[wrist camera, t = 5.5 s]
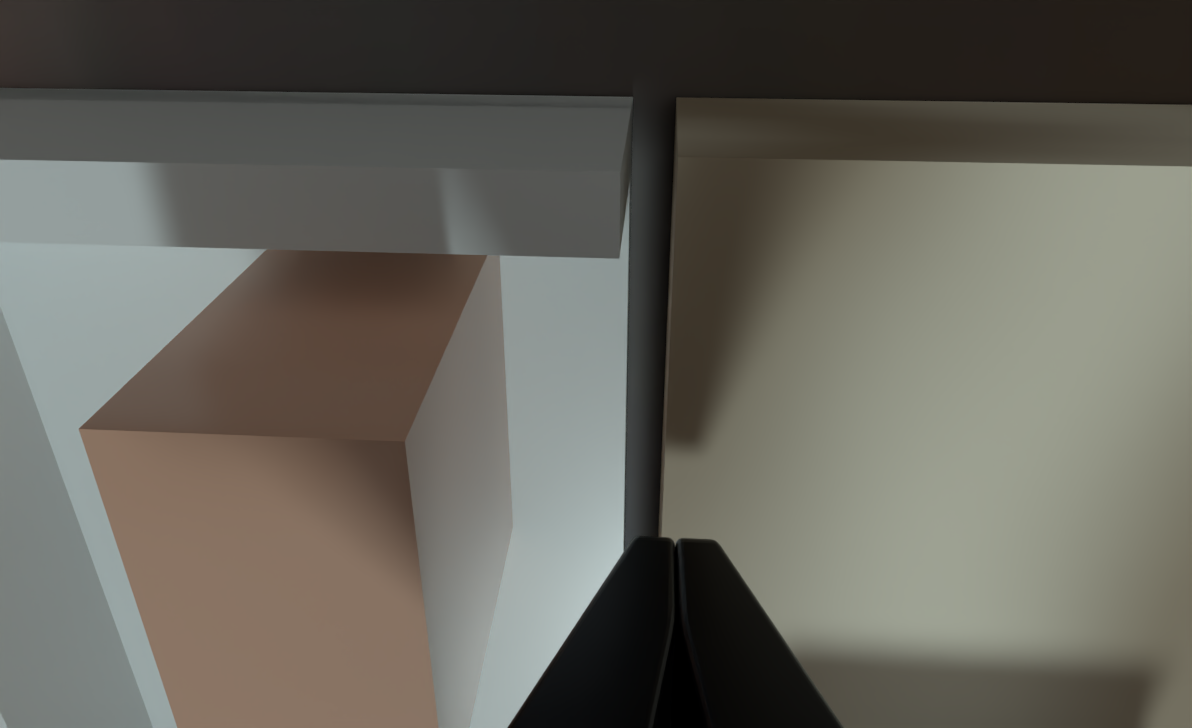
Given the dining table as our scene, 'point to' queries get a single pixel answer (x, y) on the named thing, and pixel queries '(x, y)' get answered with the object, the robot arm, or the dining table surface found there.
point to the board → (942, 399)
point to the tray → (226, 249)
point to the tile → (319, 492)
